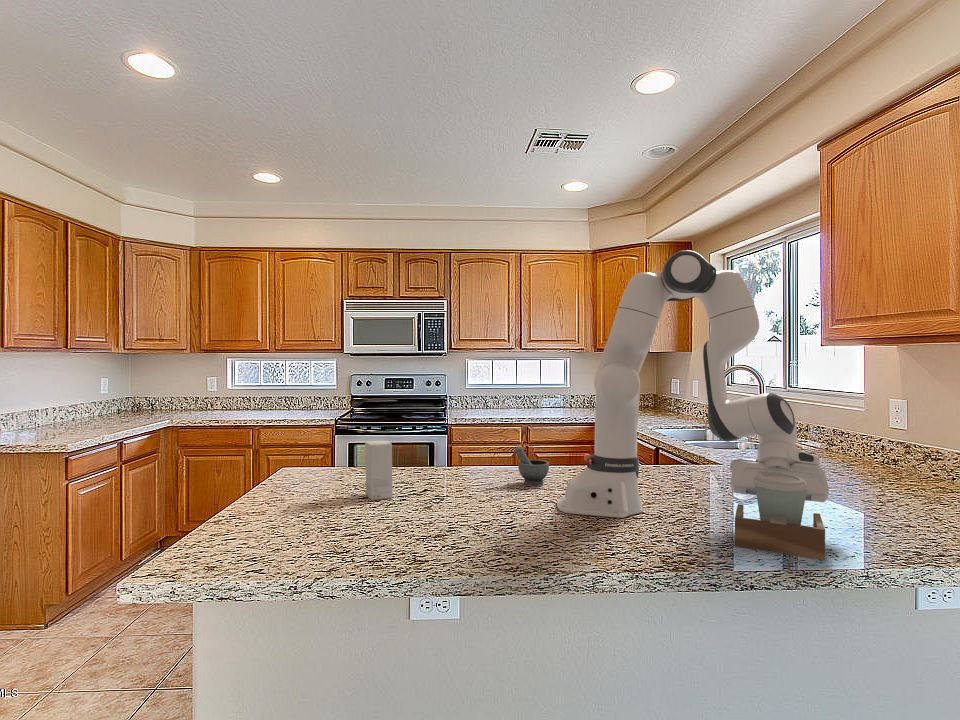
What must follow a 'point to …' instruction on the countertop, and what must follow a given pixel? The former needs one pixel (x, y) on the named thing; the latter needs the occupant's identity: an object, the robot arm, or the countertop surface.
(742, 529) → the dock cradle
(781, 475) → the disposable coffee cup
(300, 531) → the countertop surface
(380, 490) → the skincare box
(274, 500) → the countertop surface
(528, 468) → the mortar and pestle
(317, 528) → the countertop surface
